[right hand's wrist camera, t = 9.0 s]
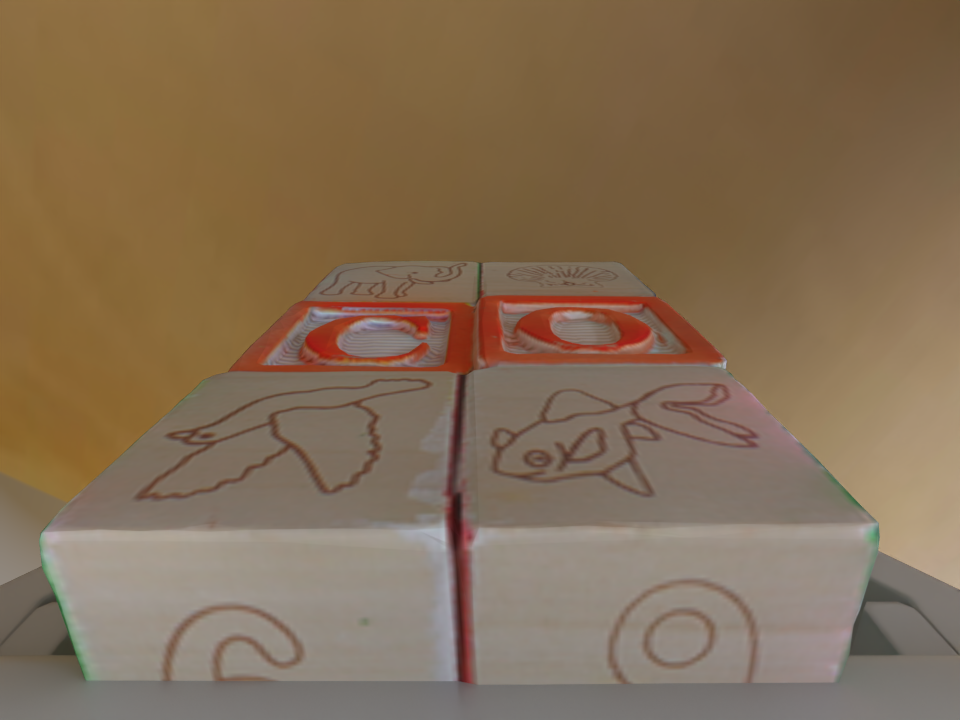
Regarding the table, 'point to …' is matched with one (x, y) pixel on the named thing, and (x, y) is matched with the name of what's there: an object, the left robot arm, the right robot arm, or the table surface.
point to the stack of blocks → (466, 501)
